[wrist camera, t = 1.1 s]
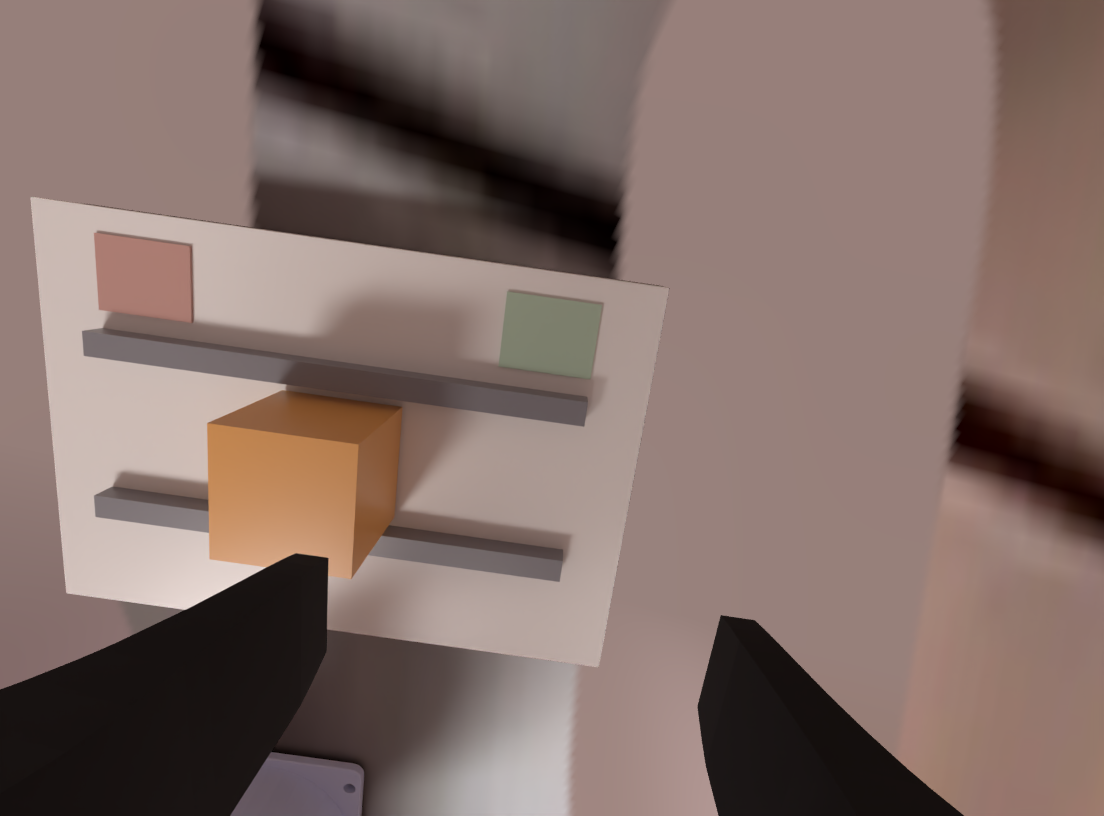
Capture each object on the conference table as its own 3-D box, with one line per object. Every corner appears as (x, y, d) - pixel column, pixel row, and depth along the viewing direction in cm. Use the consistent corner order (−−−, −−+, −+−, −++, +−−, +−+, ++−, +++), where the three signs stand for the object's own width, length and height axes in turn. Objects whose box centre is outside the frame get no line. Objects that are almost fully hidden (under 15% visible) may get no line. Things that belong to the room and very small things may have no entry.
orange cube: (394, 516, 20) (351, 579, 16) (280, 500, 20) (209, 559, 16) (402, 406, 19) (358, 444, 15) (282, 390, 19) (206, 423, 15)
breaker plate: (596, 633, 23) (599, 682, 20) (108, 565, 23) (46, 605, 20) (659, 285, 19) (674, 289, 17) (84, 203, 19) (5, 193, 17)
